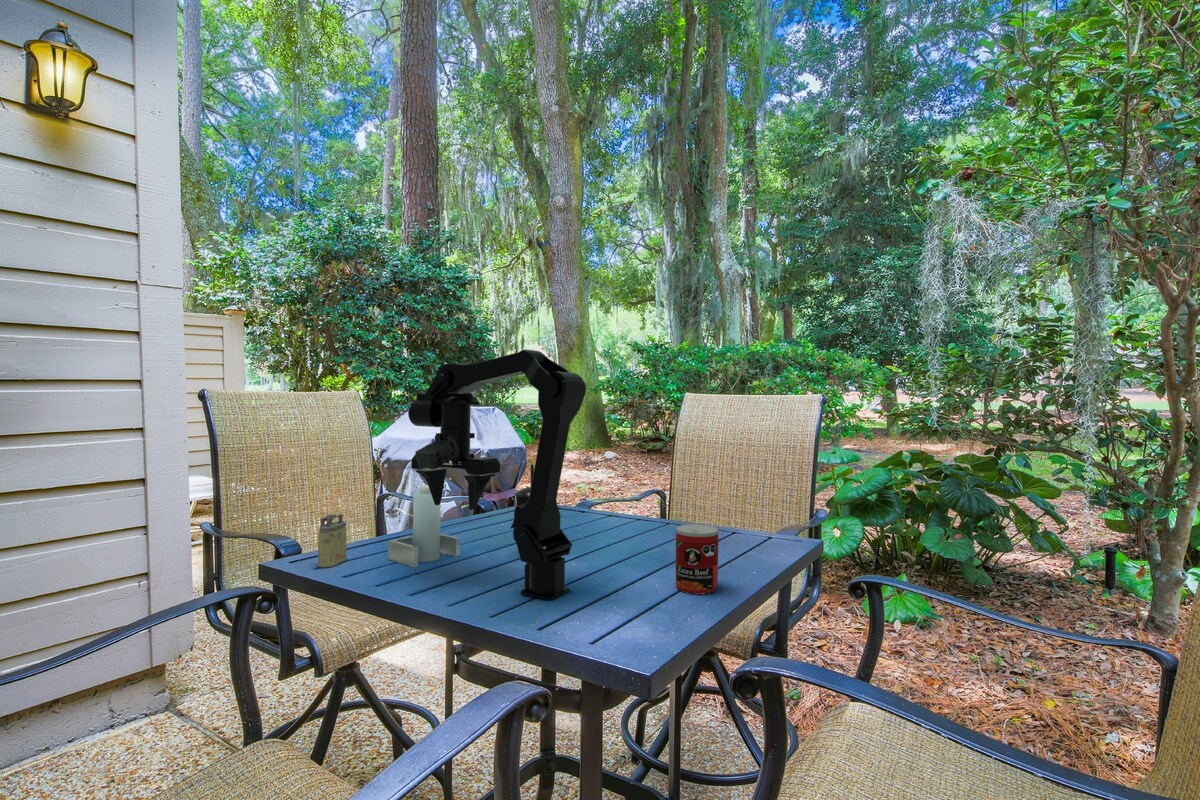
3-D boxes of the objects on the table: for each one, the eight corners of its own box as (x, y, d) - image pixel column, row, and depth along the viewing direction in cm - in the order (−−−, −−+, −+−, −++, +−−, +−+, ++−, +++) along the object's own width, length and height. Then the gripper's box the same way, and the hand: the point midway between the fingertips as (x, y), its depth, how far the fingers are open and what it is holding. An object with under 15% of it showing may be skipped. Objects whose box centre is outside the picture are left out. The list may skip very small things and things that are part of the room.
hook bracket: (462, 555, 128) (463, 523, 128) (414, 567, 118) (414, 533, 118) (435, 548, 134) (435, 517, 134) (386, 559, 124) (387, 526, 124)
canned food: (670, 591, 105) (671, 530, 105) (681, 579, 112) (681, 522, 113) (713, 597, 102) (713, 535, 102) (721, 584, 110) (721, 526, 110)
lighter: (335, 558, 124) (335, 511, 124) (351, 559, 124) (352, 512, 124) (313, 567, 117) (314, 518, 117) (330, 568, 117) (331, 519, 117)
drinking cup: (551, 550, 133) (552, 462, 133) (544, 559, 126) (545, 466, 126) (518, 549, 134) (519, 462, 134) (510, 557, 126) (511, 465, 127)
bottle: (444, 559, 125) (445, 486, 125) (419, 563, 121) (420, 488, 121) (432, 553, 129) (433, 483, 129) (408, 558, 125) (409, 485, 125)
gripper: (389, 427, 112) (388, 508, 112) (462, 431, 103) (460, 519, 103) (433, 426, 122) (431, 500, 122) (502, 429, 113) (501, 509, 113)
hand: (454, 507), depth 115 cm, fingers open, 9 cm apart
